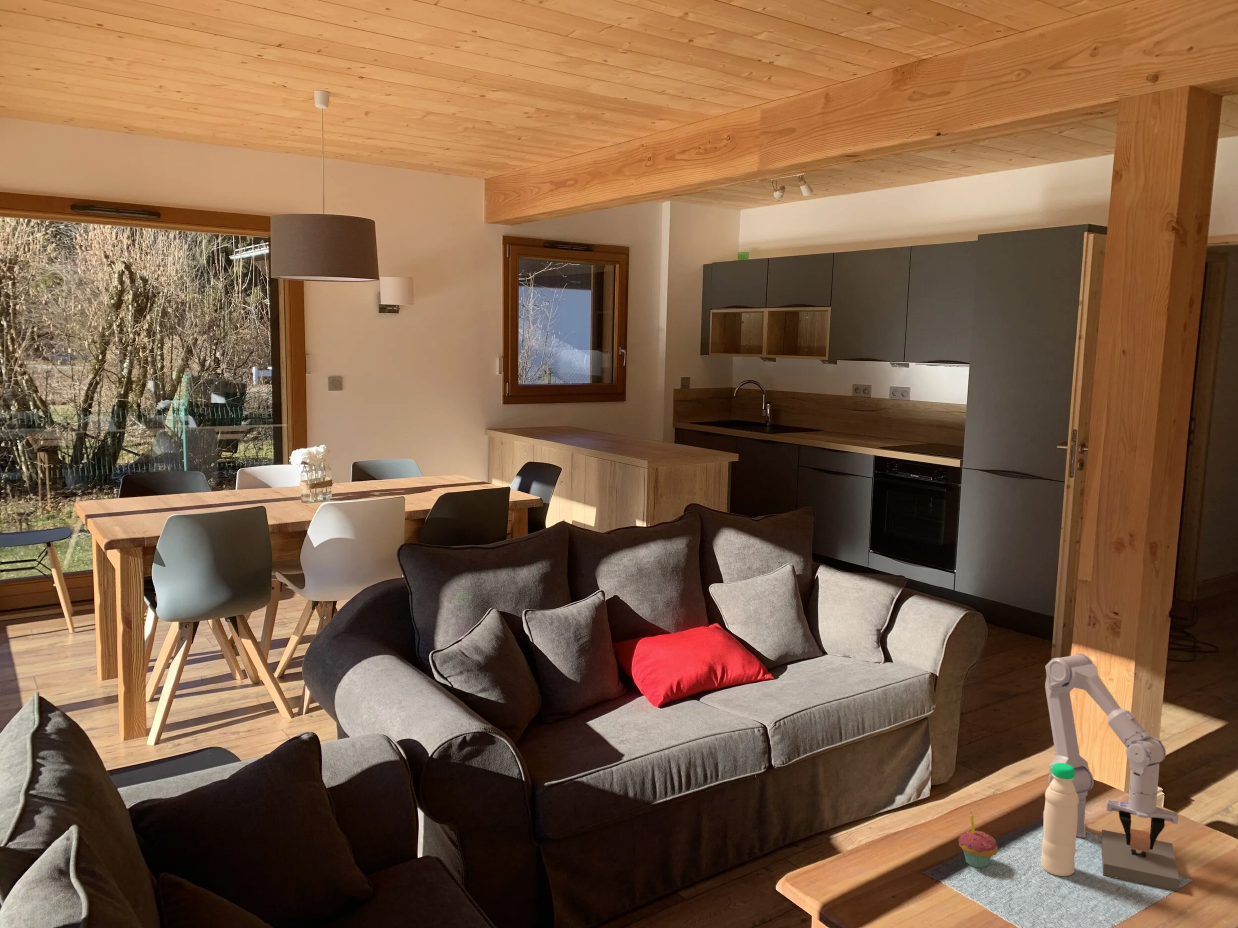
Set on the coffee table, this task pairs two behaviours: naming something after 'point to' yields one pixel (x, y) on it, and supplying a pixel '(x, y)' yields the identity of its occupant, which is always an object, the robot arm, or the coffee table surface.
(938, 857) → the coffee table surface
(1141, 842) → the orange rectangular block
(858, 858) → the coffee table surface
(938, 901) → the coffee table surface
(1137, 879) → the base
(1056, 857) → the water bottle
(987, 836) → the cupcake
